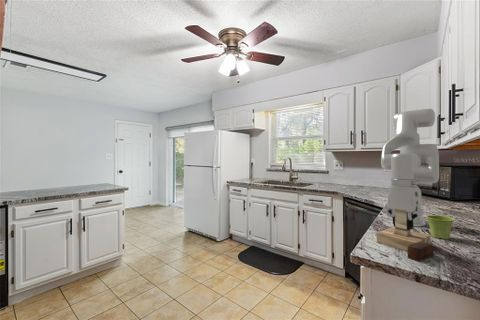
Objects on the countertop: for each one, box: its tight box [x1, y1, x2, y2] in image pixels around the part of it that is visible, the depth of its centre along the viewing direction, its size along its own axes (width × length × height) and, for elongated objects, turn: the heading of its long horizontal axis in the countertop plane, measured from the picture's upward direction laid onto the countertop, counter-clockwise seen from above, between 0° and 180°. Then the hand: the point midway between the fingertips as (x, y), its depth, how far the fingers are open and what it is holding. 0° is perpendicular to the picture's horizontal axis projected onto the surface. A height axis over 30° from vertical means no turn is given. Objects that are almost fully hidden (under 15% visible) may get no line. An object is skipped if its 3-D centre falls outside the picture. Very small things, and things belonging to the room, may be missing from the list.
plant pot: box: [426, 214, 455, 240], centre depth 101 cm, size 9×9×9 cm
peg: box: [394, 209, 412, 237], centre depth 93 cm, size 4×4×12 cm
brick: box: [406, 241, 435, 263], centre depth 81 cm, size 11×4×5 cm, turn 120°
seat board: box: [376, 226, 432, 252], centre depth 93 cm, size 14×14×4 cm
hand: (402, 227), depth 93 cm, fingers closed on peg, 4 cm apart
